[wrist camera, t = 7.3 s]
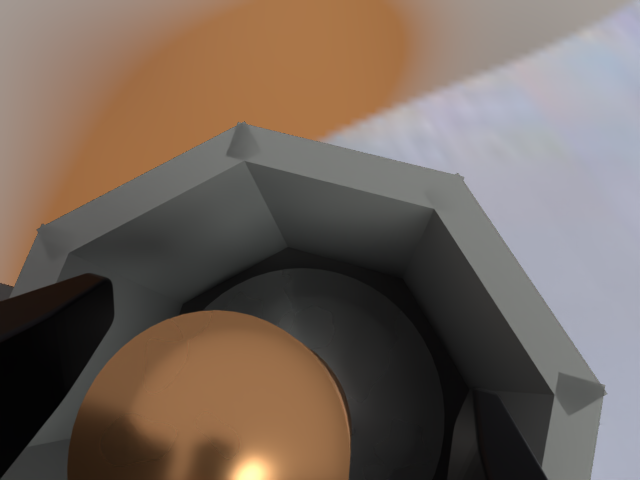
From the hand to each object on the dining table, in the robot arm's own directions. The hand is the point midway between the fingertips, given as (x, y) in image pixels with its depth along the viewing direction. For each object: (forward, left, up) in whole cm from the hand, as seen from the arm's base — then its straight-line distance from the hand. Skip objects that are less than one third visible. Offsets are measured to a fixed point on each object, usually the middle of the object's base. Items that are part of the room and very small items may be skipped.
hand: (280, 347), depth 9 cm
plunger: (-1, -1, -7) cm, 8 cm away
